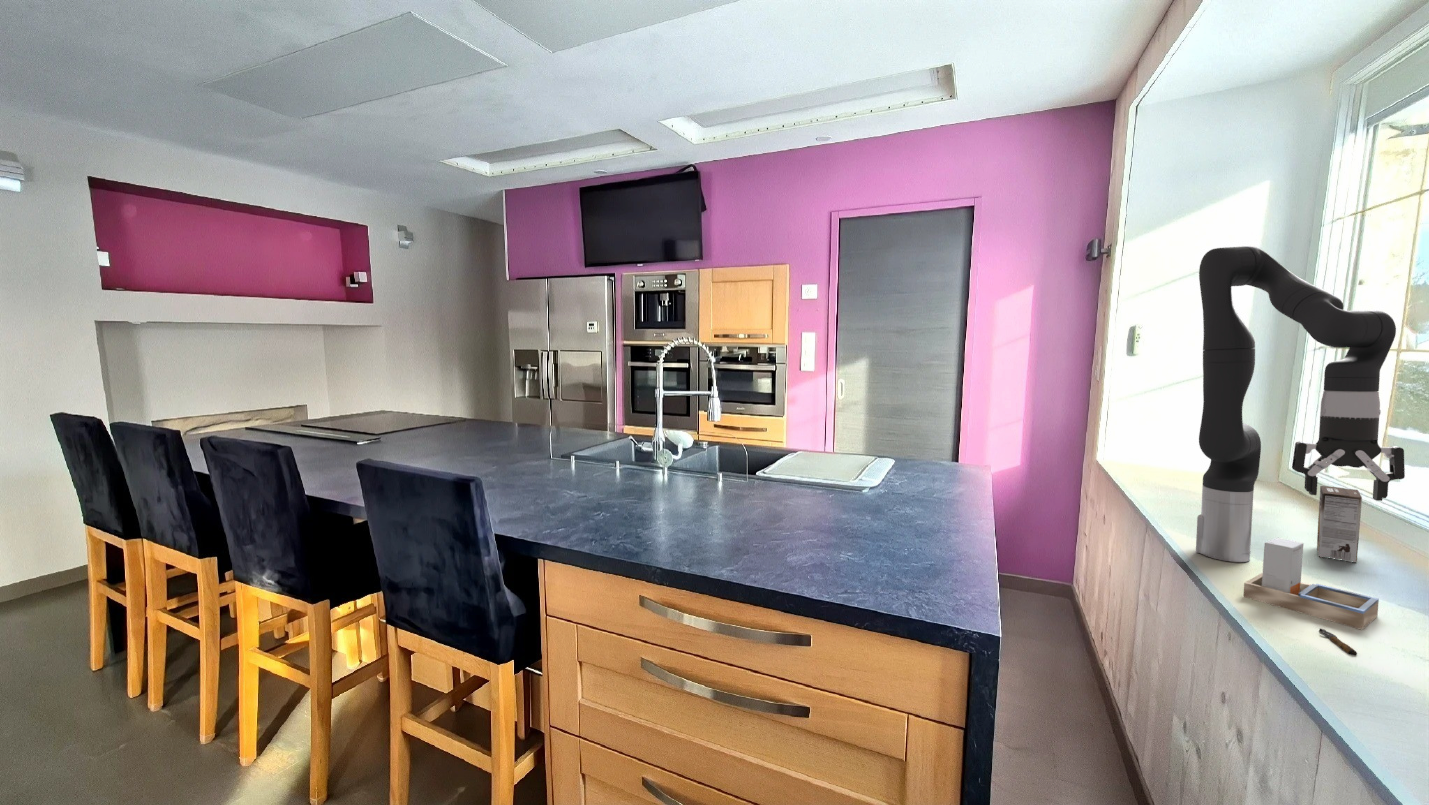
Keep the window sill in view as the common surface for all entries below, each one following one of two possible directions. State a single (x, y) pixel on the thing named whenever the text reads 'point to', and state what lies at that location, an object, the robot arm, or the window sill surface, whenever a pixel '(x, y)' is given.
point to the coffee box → (1339, 523)
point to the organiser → (1318, 602)
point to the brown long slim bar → (1338, 642)
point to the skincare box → (1282, 565)
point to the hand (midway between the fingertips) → (1344, 497)
